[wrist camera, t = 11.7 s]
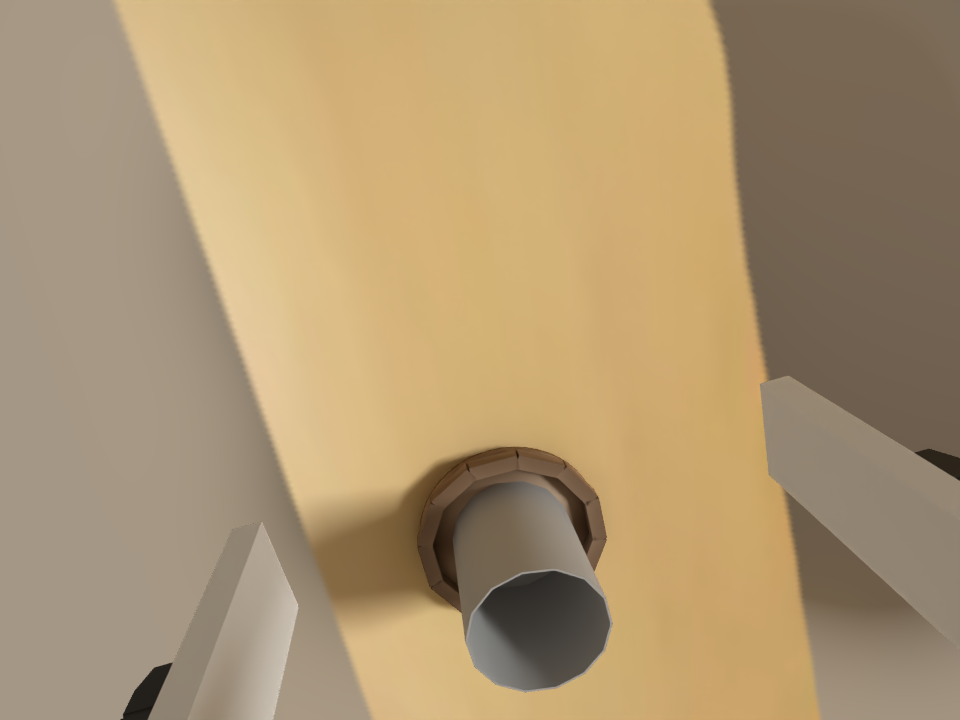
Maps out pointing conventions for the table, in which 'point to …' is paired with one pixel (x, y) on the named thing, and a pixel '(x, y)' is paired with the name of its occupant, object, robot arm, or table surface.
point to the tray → (484, 474)
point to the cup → (527, 589)
